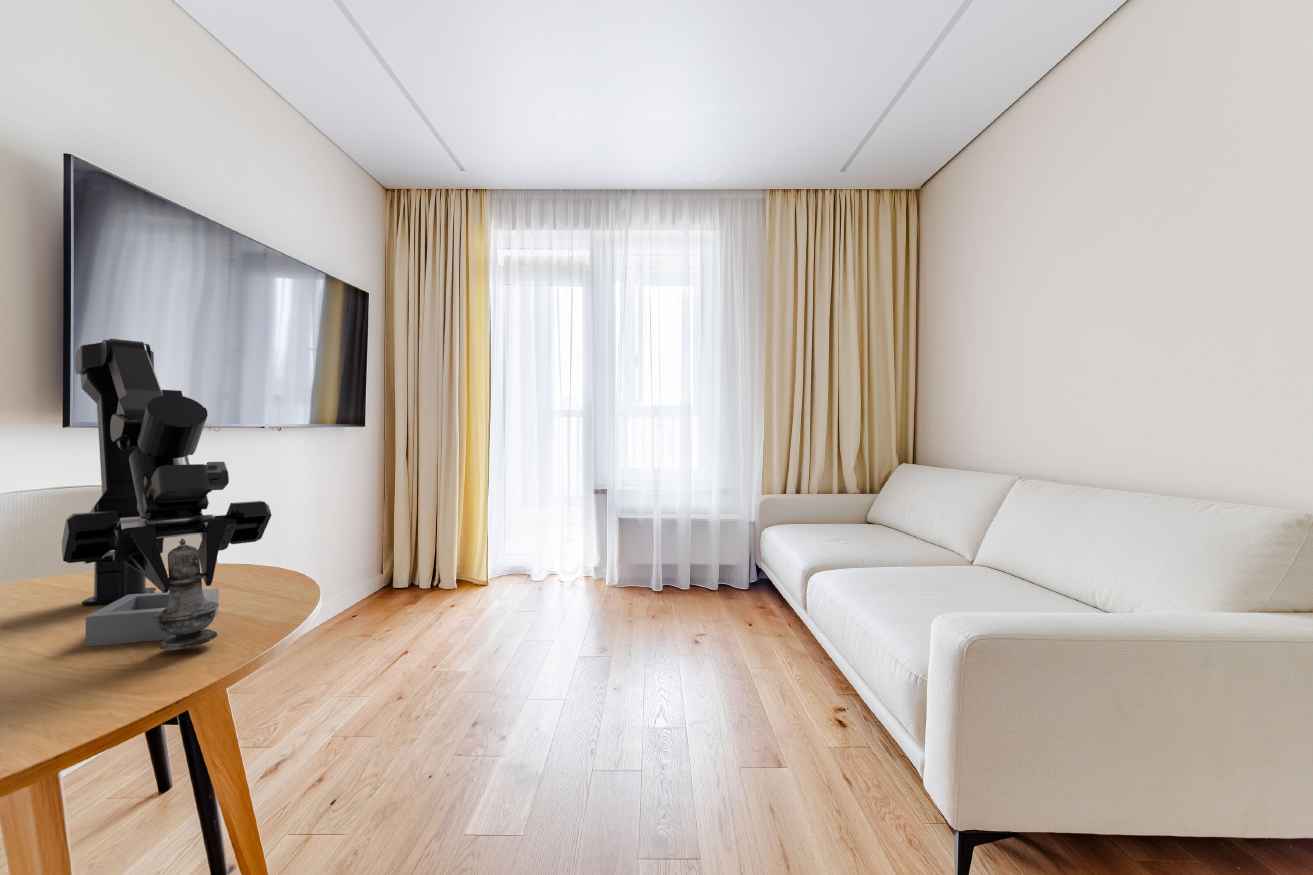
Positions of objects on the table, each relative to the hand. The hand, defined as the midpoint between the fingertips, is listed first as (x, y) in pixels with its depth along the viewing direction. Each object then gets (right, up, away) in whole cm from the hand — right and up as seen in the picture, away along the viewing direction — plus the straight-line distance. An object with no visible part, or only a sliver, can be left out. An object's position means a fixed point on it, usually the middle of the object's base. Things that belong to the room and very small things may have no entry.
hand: (188, 587), depth 66 cm
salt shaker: (-1, -7, +1) cm, 7 cm away
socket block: (-10, -7, +8) cm, 15 cm away
